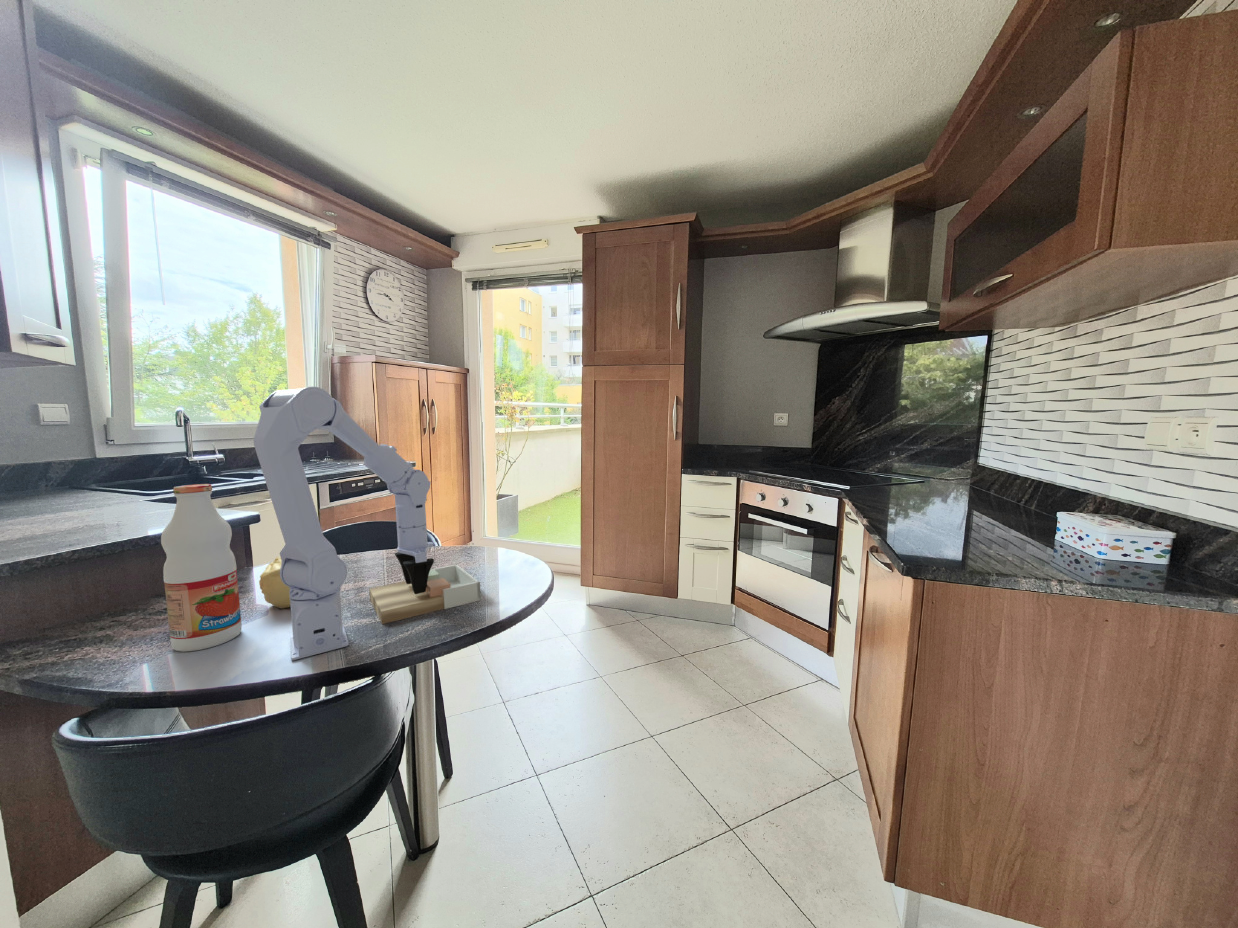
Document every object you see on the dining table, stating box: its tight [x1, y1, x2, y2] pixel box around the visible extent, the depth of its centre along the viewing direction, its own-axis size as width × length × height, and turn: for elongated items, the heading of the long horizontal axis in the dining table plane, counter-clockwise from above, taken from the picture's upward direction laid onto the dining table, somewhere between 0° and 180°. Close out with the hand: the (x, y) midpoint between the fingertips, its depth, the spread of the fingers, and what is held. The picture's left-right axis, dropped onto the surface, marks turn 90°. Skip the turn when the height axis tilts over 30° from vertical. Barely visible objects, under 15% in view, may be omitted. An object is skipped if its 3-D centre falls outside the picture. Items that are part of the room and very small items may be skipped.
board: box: [368, 580, 445, 625], centre depth 95 cm, size 16×12×2 cm
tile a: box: [425, 578, 450, 597], centre depth 95 cm, size 5×4×2 cm
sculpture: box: [258, 556, 291, 609], centre depth 97 cm, size 12×12×11 cm
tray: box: [433, 564, 482, 610], centre depth 100 cm, size 16×8×4 cm, turn 36°
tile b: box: [428, 568, 439, 581], centre depth 101 cm, size 5×4×2 cm
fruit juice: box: [160, 483, 243, 653], centre depth 79 cm, size 9×9×28 cm
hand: (415, 587), depth 96 cm, fingers open, 7 cm apart
